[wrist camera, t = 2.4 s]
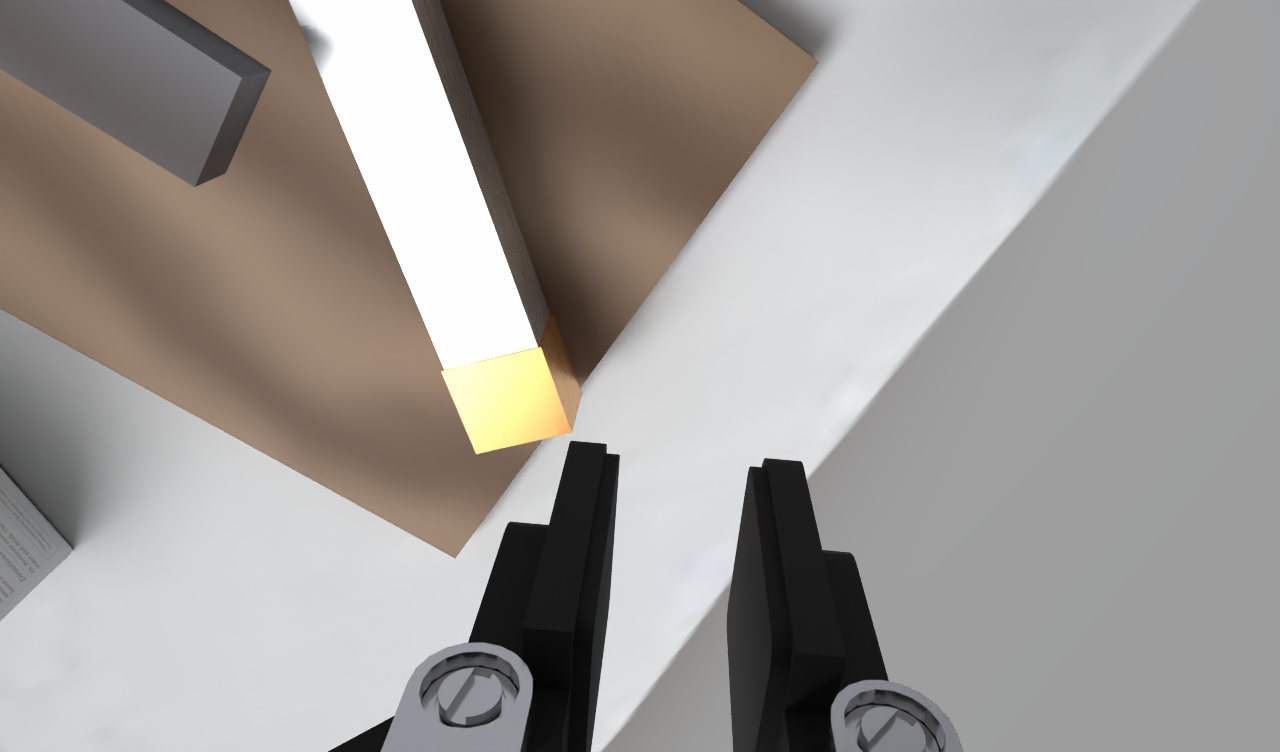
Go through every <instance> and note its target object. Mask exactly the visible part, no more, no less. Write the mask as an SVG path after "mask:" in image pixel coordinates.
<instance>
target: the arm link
mask: <svg viewBox="0 0 1280 752" xmlns="http://www.w3.org/2000/svg"><path fill="white" fill-rule="evenodd" d="M289 2H290V4H291V6H292V9H293V11H294V13H295V16H296V18H297V21H298V23H299V25H300V28H301V30H302V32H303V35H304V37H305V40H306V42H307V44H308V47H309V49H310V51H311V54H312V56H313V59H314V61H315V63H316V66H317V68H318V70H319V73H320V75H321V78H322V80H323V82H324V85H325V87H326V89H327V92H328V94H329V97H330V99H331V101H332V104H333V106H334V108H335V111H336V113H337V115H338V118H339V120H340V123H341V125H342V127H343V130H344V132H345V134H346V137H347V139H348V142H349V144H350V146H351V149H352V151H353V153H354V156H355V158H356V161H357V163H358V165H359V168H360V170H361V172H362V175H363V177H364V180H365V182H366V184H367V187H368V189H369V191H370V194H371V196H372V199H373V201H374V203H375V206H376V208H377V210H378V213H379V215H380V217H381V220H382V222H383V225H384V227H385V229H386V232H387V234H388V236H389V239H390V241H391V244H392V246H393V248H394V251H395V253H396V255H397V258H398V260H399V263H400V265H401V267H402V270H403V272H404V274H405V277H406V279H407V282H408V284H409V286H410V289H411V291H412V293H413V296H414V298H415V301H416V303H417V305H418V308H419V310H420V312H421V315H422V317H423V319H424V322H425V324H426V327H427V329H428V331H429V334H430V336H431V338H432V341H433V343H434V346H435V348H436V350H437V353H438V355H439V357H440V360H441V362H442V365H443V367H444V368H443V369H442V371H441V372H442V374H443V377H444V379H445V381H446V384H447V386H448V388H449V391H450V393H451V395H452V398H453V400H454V403H455V405H456V407H457V410H458V412H459V414H460V417H461V419H462V421H463V424H464V426H465V429H466V431H467V433H468V436H469V438H470V440H471V443H472V445H473V447H474V450H475V452H476V454H479V453H483V452H488V451H492V450H497V449H501V448H505V447H510V446H514V445H519V444H523V443H528V442H532V441H537V440H541V439H546V438H550V437H554V436H559V435H563V434H568V433H572V430H573V426H574V422H575V418H576V415H577V411H578V407H579V403H580V399H581V395H582V394H581V391H580V388H579V385H578V383H577V380H576V377H575V374H574V371H573V368H572V365H571V363H570V360H569V357H568V354H567V351H566V348H565V345H564V343H563V340H562V337H561V334H560V331H559V328H558V325H557V323H556V320H555V317H554V314H553V315H550V313H549V310H548V307H547V304H546V302H545V299H544V296H543V293H542V290H541V287H540V285H539V282H538V279H537V276H536V273H535V270H534V268H533V265H532V262H531V259H530V256H529V253H528V250H527V248H526V245H525V242H524V239H523V236H522V233H521V231H520V228H519V225H518V222H517V219H516V216H515V214H514V211H513V208H512V205H511V202H510V199H509V197H508V194H507V191H506V188H505V185H504V182H503V180H502V177H501V174H500V171H499V168H498V165H497V163H496V160H495V157H494V154H493V151H492V148H491V146H490V143H489V140H488V137H487V134H486V131H485V128H484V126H483V123H482V120H481V117H480V114H479V111H478V109H477V106H476V103H475V100H474V97H473V94H472V92H471V89H470V86H469V83H468V80H467V77H466V75H465V72H464V69H463V66H462V63H461V60H460V58H459V55H458V52H457V49H456V46H455V43H454V41H453V38H452V35H451V32H450V29H449V26H448V24H447V21H446V18H445V15H444V12H443V9H442V6H441V4H440V1H439V0H289Z"/></svg>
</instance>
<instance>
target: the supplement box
mask: <svg viewBox="0 0 1280 752" xmlns="http://www.w3.org/2000/svg"><path fill="white" fill-rule="evenodd" d="M71 552H72V548H71V547H70V545H69V544H68V543H67V542H66V541H65V540H64V539H63V538H62V536H61V535H60V534H59V533H58V532H57V531H56V530H55V529H54V527H53V526H52V525H51V524H50V523H49V522H48V521H47V520H46V518H45V517H44V516H43V515H42V514H41V513H40V512H39V511H38V510H37V508H36V507H35V506H34V505H33V504H32V503H31V502H30V501H29V499H28V498H27V497H26V496H25V495H24V494H23V493H22V492H21V490H20V489H19V488H18V487H17V486H16V485H15V484H14V483H13V481H12V480H11V479H10V478H9V477H8V476H7V475H6V474H5V472H4V471H3V470H2V469H1V468H0V621H1V620H2V619H3V618H4V617H5V616H6V615H7V614H8V613H9V612H10V611H11V610H12V609H13V608H14V607H15V606H16V605H18V604H19V603H20V602H21V601H22V600H23V599H24V598H25V597H26V596H27V595H28V594H29V593H30V592H31V591H32V590H33V589H34V588H35V587H36V586H37V585H38V584H39V583H40V582H41V581H42V580H43V579H44V578H45V577H46V576H47V575H48V574H50V573H51V572H52V571H53V570H54V569H55V568H56V567H57V566H58V565H59V564H60V563H61V562H62V561H63V560H65V559H66V558H67V557H68V556H69V555H70V554H71Z"/></svg>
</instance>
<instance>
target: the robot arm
mask: <svg viewBox="0 0 1280 752" xmlns="http://www.w3.org/2000/svg"><path fill="white" fill-rule="evenodd" d="M606 452H607V445H606V444H601V443H590V442H578V441H570V444H569V448H568V452H567V456H566V460H565V464H564V468H563V472H562V476H561V480H560V484H559V488H558V491H557V495H556V499H555V503H554V507H553V511H552V515H551V519H550V523H549V525H541V524H530V523H519V522H509V523H508V524H507V527H506V529H505V532H504V535H503V538H502V541H501V544H500V547H499V550H498V553H497V556H496V559H495V562H494V565H493V569H492V572H491V575H490V578H489V581H488V584H487V587H486V590H485V593H484V596H483V599H482V602H481V605H480V608H479V611H478V614H477V617H476V620H475V623H474V626H473V629H472V632H471V636H470V639H469V642H468V643H463V644H459V645H455V646H451V647H447V648H445V649H443V650H441V651H439V652H437V653H435V654H433V655H431V656H429V657H428V658H427V659H426V660H425V661H424V662H422V663H421V664H420V665H419V666H418V667H417V668H416V669H415V671H414V673H413V674H412V676H411V678H410V679H409V681H408V683H407V685H406V688H405V691H404V693H403V696H402V698H401V701H400V703H399V706H398V709H397V711H396V714H395V716H393V717H391V718H389V719H388V720H386V721H384V722H382V723H380V724H378V725H376V726H375V727H373V728H371V729H369V730H367V731H365V732H364V733H362V734H360V735H358V736H356V737H354V738H352V739H351V740H349V741H347V742H345V743H343V744H341V745H339V746H338V747H336V748H334V749H332V750H330V751H328V752H591V745H592V737H593V730H594V722H595V714H596V706H597V698H598V690H599V682H600V675H601V667H602V659H603V651H604V643H605V635H606V627H607V619H608V610H609V600H610V587H611V573H612V559H613V545H614V530H615V516H616V502H617V488H618V474H619V459H620V455H617V454H606ZM727 642H728V661H729V679H730V697H731V716H732V735H733V752H964V751H963V748H962V745H961V742H960V739H959V736H958V733H957V732H956V730H955V728H954V726H953V724H952V722H951V720H950V718H949V717H948V716H947V715H946V714H945V713H944V712H943V711H942V710H941V709H940V707H939V706H938V705H937V704H936V703H934V702H933V701H932V700H930V699H929V698H927V697H926V696H924V695H923V694H922V693H920V692H918V691H916V690H914V689H911V688H909V687H907V686H904V685H902V684H899V683H895V682H890V681H889V680H888V676H887V673H886V669H885V666H884V662H883V658H882V655H881V651H880V647H879V644H878V640H877V637H876V633H875V630H874V626H873V622H872V619H871V615H870V611H869V608H868V604H867V601H866V597H865V593H864V590H863V586H862V582H861V579H860V576H859V571H858V568H857V564H856V561H855V559H854V556H853V555H852V554H851V553H847V552H837V551H827V550H822V547H821V543H820V538H819V533H818V529H817V525H816V520H815V516H814V511H813V507H812V502H811V498H810V494H809V489H808V484H807V480H806V476H805V471H804V467H803V464H802V462H801V461H791V460H780V459H769V458H765V459H764V461H763V464H762V467H751V466H750V468H749V471H748V477H747V484H746V490H745V497H744V503H743V510H742V517H741V523H740V530H739V536H738V543H737V550H736V556H735V563H734V570H733V576H732V583H731V590H730V596H729V603H728V612H727Z"/></svg>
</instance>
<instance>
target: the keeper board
mask: <svg viewBox="0 0 1280 752" xmlns="http://www.w3.org/2000/svg"><path fill="white" fill-rule="evenodd" d="M439 1H440V4H441V6H442V9H443V12H444V15H445V18H446V21H447V24H448V26H449V29H450V32H451V35H452V38H453V41H454V43H455V46H456V49H457V52H458V55H459V58H460V60H461V63H462V66H463V69H464V72H465V75H466V77H467V80H468V83H469V86H470V89H471V92H472V94H473V97H474V100H475V103H476V106H477V109H478V111H479V114H480V117H481V120H482V123H483V126H484V128H485V131H486V134H487V137H488V140H489V143H490V146H491V148H492V151H493V154H494V157H495V160H496V163H497V165H498V168H499V171H500V174H501V177H502V180H503V182H504V185H505V188H506V191H507V194H508V197H509V199H510V202H511V205H512V208H513V211H514V214H515V216H516V219H517V222H518V225H519V228H520V231H521V233H522V236H523V239H524V242H525V245H526V248H527V250H528V253H529V256H530V259H531V262H532V265H533V268H534V270H535V273H536V276H537V279H538V282H539V285H540V287H541V290H542V293H543V296H544V299H545V302H546V304H547V307H548V310H549V313H550V315H553V314H554V317H555V320H556V323H557V325H558V328H559V331H560V334H561V337H562V340H563V343H564V345H565V348H566V351H567V354H568V357H569V360H570V363H571V365H572V368H573V371H574V374H575V377H576V380H577V383H578V385H579V388H580V387H581V386H582V385H583V383H584V382H585V381H586V379H587V378H588V376H589V375H590V374H591V372H592V371H593V370H594V368H595V367H596V365H597V364H598V363H599V361H600V360H601V359H602V357H603V356H604V355H605V353H606V352H607V350H608V349H609V348H610V346H611V345H612V344H613V342H614V341H615V340H616V338H617V337H618V335H619V334H620V333H621V331H622V330H623V329H624V327H625V326H626V325H627V323H628V322H629V320H630V319H631V318H632V316H633V315H634V314H635V312H636V311H637V310H638V308H639V307H640V305H641V304H642V303H643V301H644V300H645V299H646V297H647V296H648V295H649V293H650V292H651V290H652V289H653V288H654V286H655V285H656V284H657V282H658V281H659V280H660V278H661V277H662V275H663V274H664V273H665V271H666V270H667V269H668V267H669V266H670V265H671V263H672V262H673V260H674V259H675V258H676V256H677V255H678V254H679V252H680V251H681V250H682V248H683V247H684V245H685V244H686V243H687V241H688V240H689V239H690V237H691V236H692V235H693V233H694V232H695V230H696V229H697V228H698V226H699V225H700V224H701V222H702V221H703V219H704V218H705V217H706V215H707V214H708V213H709V211H710V210H711V209H712V207H713V206H714V204H715V203H716V202H717V200H718V199H719V198H720V196H721V195H722V194H723V192H724V191H725V189H726V188H727V187H728V185H729V184H730V183H731V181H732V180H733V179H734V177H735V176H736V174H737V173H738V172H739V170H740V169H741V168H742V166H743V165H744V164H745V162H746V161H747V159H748V158H749V157H750V155H751V154H752V153H753V151H754V150H755V149H756V147H757V146H758V144H759V143H760V142H761V140H762V139H763V138H764V136H765V135H766V134H767V132H768V131H769V129H770V128H771V127H772V125H773V124H774V123H775V121H776V120H777V119H778V117H779V116H780V114H781V113H782V112H783V110H784V109H785V108H786V106H787V105H788V104H789V102H790V101H791V99H792V98H793V97H794V95H795V94H796V93H797V91H798V90H799V89H800V87H801V86H802V84H803V83H804V82H805V80H806V79H807V78H808V76H809V75H810V73H811V72H812V71H813V69H814V68H815V67H816V65H817V64H818V63H819V62H818V61H817V60H815V59H814V58H813V57H811V56H810V55H809V54H807V53H806V52H805V51H804V50H802V49H801V48H800V47H798V46H797V45H796V44H794V43H793V42H792V41H791V40H789V39H788V38H787V37H785V36H784V35H783V34H781V33H780V32H779V31H777V30H776V29H775V28H774V27H772V26H771V25H770V24H768V23H767V22H766V21H764V20H763V19H762V18H760V17H759V16H758V15H757V14H755V13H754V12H753V11H751V10H750V9H749V8H747V7H746V6H745V5H743V4H742V3H741V2H740V1H738V0H439ZM0 309H2V310H4V311H6V312H7V313H9V314H11V315H13V316H15V317H17V318H18V319H20V320H22V321H24V322H26V323H28V324H29V325H31V326H33V327H35V328H37V329H38V330H40V331H42V332H44V333H46V334H48V335H49V336H51V337H53V338H55V339H57V340H58V341H60V342H62V343H64V344H66V345H68V346H69V347H71V348H73V349H75V350H77V351H78V352H80V353H82V354H84V355H86V356H88V357H89V358H91V359H93V360H95V361H97V362H99V363H100V364H102V365H104V366H106V367H108V368H109V369H111V370H113V371H115V372H117V373H119V374H120V375H122V376H124V377H126V378H128V379H129V380H131V381H133V382H135V383H137V384H139V385H140V386H142V387H144V388H146V389H148V390H150V391H151V392H153V393H155V394H157V395H159V396H160V397H162V398H164V399H166V400H168V401H170V402H171V403H173V404H175V405H177V406H179V407H180V408H182V409H184V410H186V411H188V412H190V413H191V414H193V415H195V416H197V417H199V418H201V419H202V420H204V421H206V422H208V423H210V424H211V425H213V426H215V427H217V428H219V429H221V430H222V431H224V432H226V433H228V434H230V435H231V436H233V437H235V438H237V439H239V440H241V441H242V442H244V443H246V444H248V445H250V446H252V447H253V448H255V449H257V450H259V451H261V452H262V453H264V454H266V455H268V456H270V457H272V458H273V459H275V460H277V461H279V462H281V463H282V464H284V465H286V466H288V467H290V468H292V469H293V470H295V471H297V472H299V473H301V474H303V475H304V476H306V477H308V478H310V479H312V480H313V481H315V482H317V483H319V484H321V485H323V486H324V487H326V488H328V489H330V490H332V491H333V492H335V493H337V494H339V495H341V496H343V497H344V498H346V499H348V500H350V501H352V502H353V503H355V504H357V505H359V506H361V507H363V508H364V509H366V510H368V511H370V512H372V513H374V514H375V515H377V516H379V517H381V518H383V519H384V520H386V521H388V522H390V523H392V524H394V525H395V526H397V527H399V528H401V529H403V530H404V531H406V532H408V533H410V534H412V535H414V536H415V537H417V538H419V539H421V540H423V541H425V542H426V543H428V544H430V545H432V546H434V547H435V548H437V549H439V550H441V551H443V552H445V553H446V554H448V555H450V556H452V557H454V558H456V557H457V555H458V554H459V552H460V551H461V550H462V548H463V547H464V546H465V544H466V543H467V542H468V540H469V539H470V537H471V536H472V535H473V533H474V532H475V531H476V529H477V528H478V527H479V525H480V524H481V522H482V521H483V520H484V518H485V517H486V516H487V514H488V513H489V511H490V510H491V509H492V507H493V506H494V505H495V503H496V502H497V501H498V499H499V498H500V496H501V495H502V494H503V492H504V491H505V490H506V488H507V487H508V486H509V484H510V483H511V481H512V480H513V479H514V477H515V476H516V475H517V473H518V472H519V471H520V469H521V468H522V466H523V465H524V464H525V462H526V461H527V460H528V458H529V457H530V456H531V454H532V453H533V451H534V450H535V449H536V447H537V446H538V445H539V443H540V442H541V441H542V439H541V440H537V441H532V442H528V443H523V444H519V445H514V446H510V447H505V448H501V449H497V450H492V451H488V452H483V453H479V454H476V452H475V450H474V447H473V445H472V443H471V440H470V438H469V436H468V433H467V431H466V429H465V426H464V424H463V421H462V419H461V417H460V414H459V412H458V410H457V407H456V405H455V403H454V400H453V398H452V395H451V393H450V391H449V388H448V386H447V384H446V381H445V379H444V377H443V374H442V372H441V371H442V369H443V368H444V367H443V365H442V362H441V360H440V357H439V355H438V353H437V350H436V348H435V346H434V343H433V341H432V338H431V336H430V334H429V331H428V329H427V327H426V324H425V322H424V319H423V317H422V315H421V312H420V310H419V308H418V305H417V303H416V301H415V298H414V296H413V293H412V291H411V289H410V286H409V284H408V282H407V279H406V277H405V274H404V272H403V270H402V267H401V265H400V263H399V260H398V258H397V255H396V253H395V251H394V248H393V246H392V244H391V241H390V239H389V236H388V234H387V232H386V229H385V227H384V225H383V222H382V220H381V217H380V215H379V213H378V210H377V208H376V206H375V203H374V201H373V199H372V196H371V194H370V191H369V189H368V187H367V184H366V182H365V180H364V177H363V175H362V172H361V170H360V168H359V165H358V163H357V161H356V158H355V156H354V153H353V151H352V149H351V146H350V144H349V142H348V139H347V137H346V134H345V132H344V130H343V127H342V125H341V123H340V120H339V118H338V115H337V113H336V111H335V108H334V106H333V104H332V101H331V99H330V97H329V94H328V92H327V89H326V87H325V85H324V82H323V80H322V78H321V75H320V73H319V70H318V68H317V66H316V63H315V61H314V59H313V56H312V54H311V51H310V49H309V47H308V44H307V42H306V40H305V37H304V35H303V32H302V30H301V28H300V25H299V23H298V21H297V18H296V16H295V13H294V11H293V9H292V6H291V4H290V2H289V0H0Z"/></svg>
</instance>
